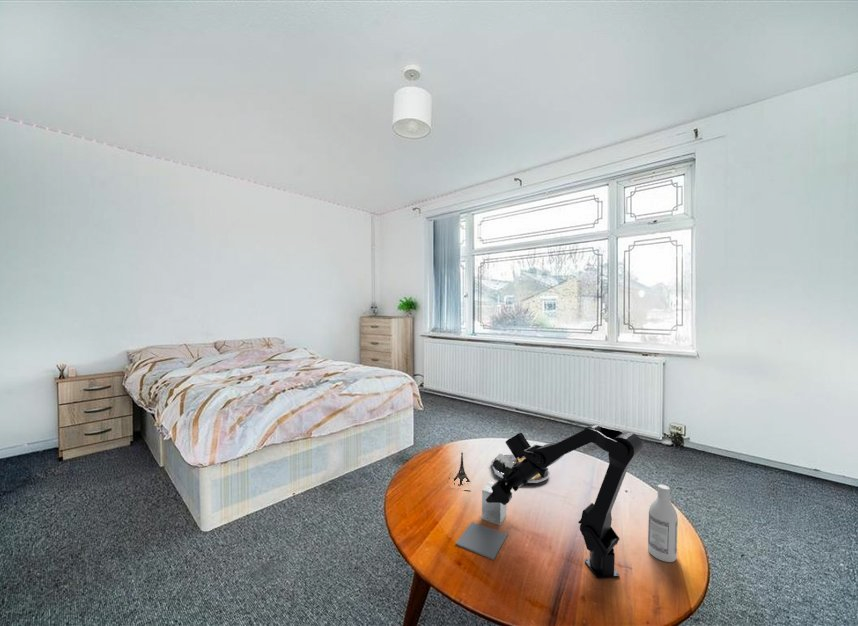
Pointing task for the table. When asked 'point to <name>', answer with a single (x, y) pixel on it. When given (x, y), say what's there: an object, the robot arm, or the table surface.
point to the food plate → (513, 459)
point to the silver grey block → (492, 507)
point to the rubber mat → (482, 540)
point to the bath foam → (663, 527)
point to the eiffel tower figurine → (461, 472)
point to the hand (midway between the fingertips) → (491, 494)
